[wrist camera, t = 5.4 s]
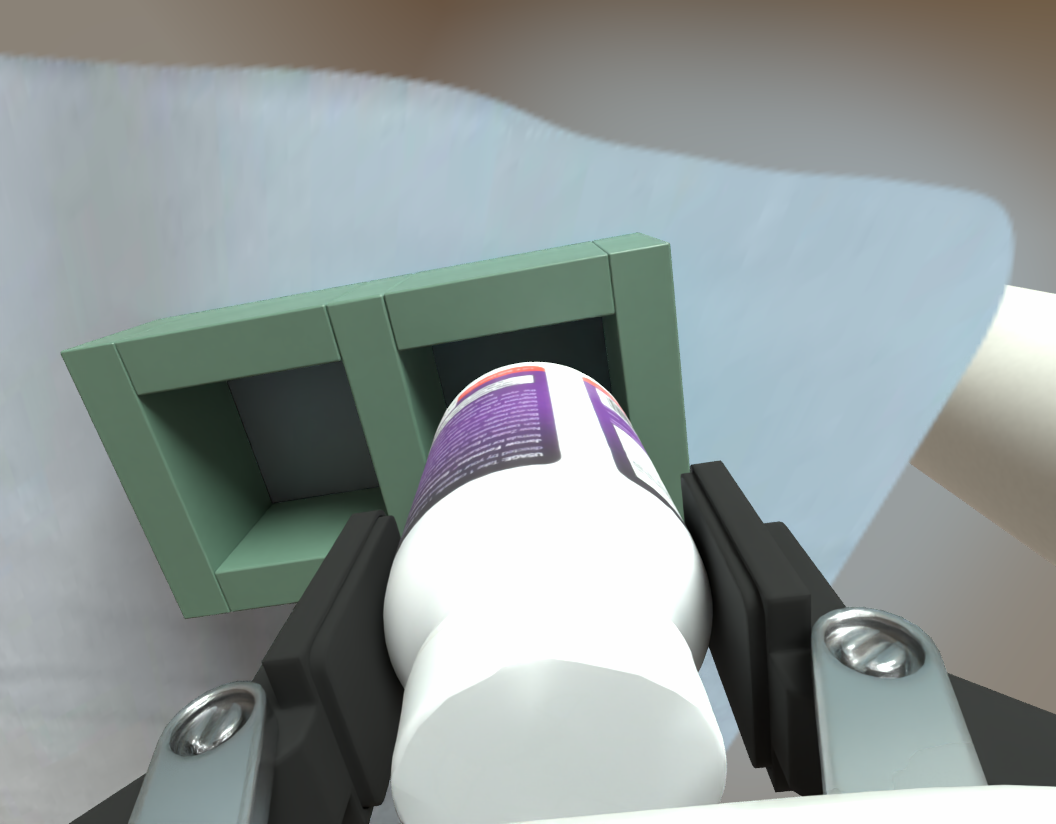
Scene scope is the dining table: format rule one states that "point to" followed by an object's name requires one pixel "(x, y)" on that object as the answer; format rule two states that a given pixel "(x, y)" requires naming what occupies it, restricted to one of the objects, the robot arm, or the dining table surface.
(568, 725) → the pill bottle
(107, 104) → the dining table surface
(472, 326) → the open bin with compartments
